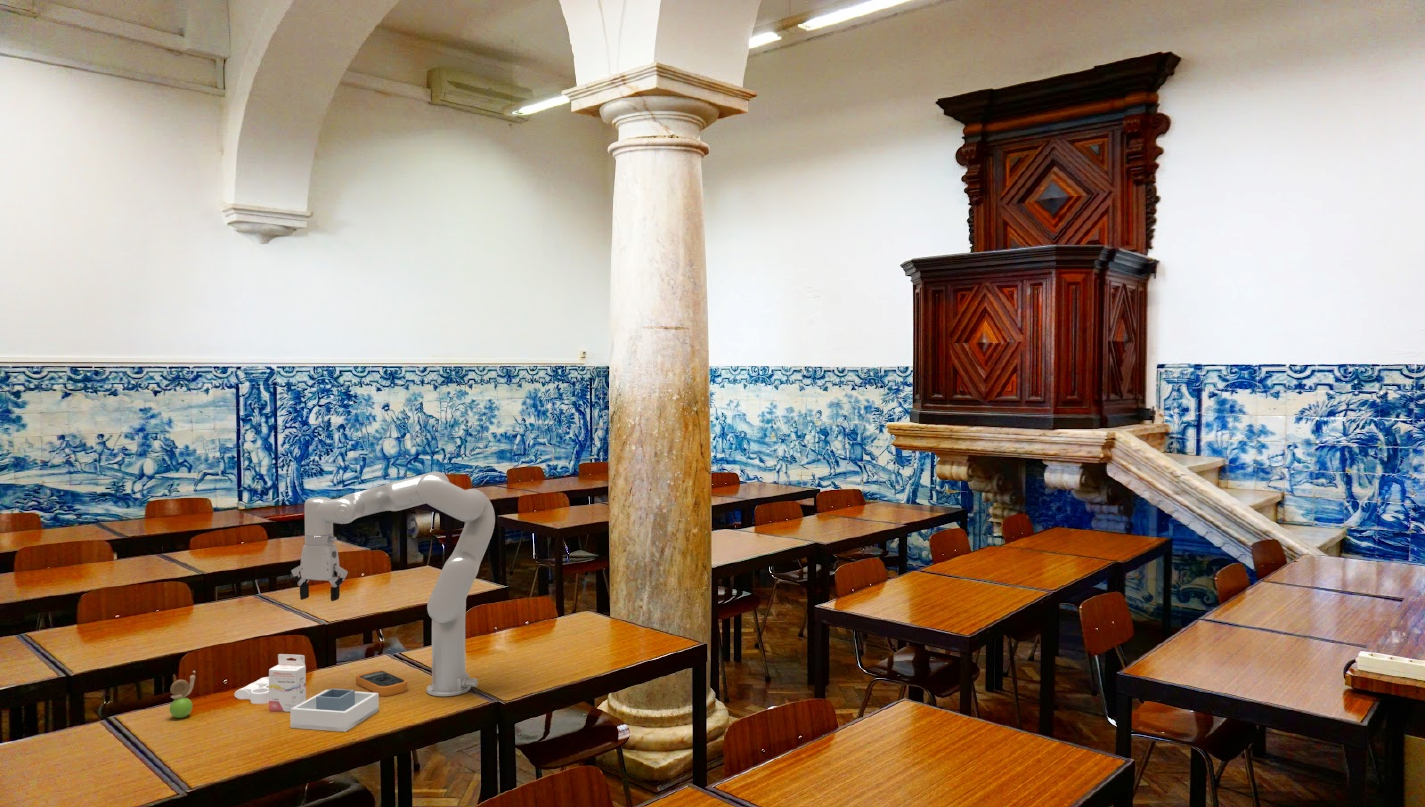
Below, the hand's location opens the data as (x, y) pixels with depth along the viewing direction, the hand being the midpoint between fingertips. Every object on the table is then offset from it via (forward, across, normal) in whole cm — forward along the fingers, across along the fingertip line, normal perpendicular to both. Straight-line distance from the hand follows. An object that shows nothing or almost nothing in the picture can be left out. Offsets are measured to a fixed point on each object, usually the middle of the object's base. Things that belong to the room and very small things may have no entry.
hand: (319, 599), depth 273 cm
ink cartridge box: (+28, +3, +11) cm, 31 cm away
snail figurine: (+28, +27, +22) cm, 45 cm away
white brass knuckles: (+29, +16, 0) cm, 33 cm away
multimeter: (+29, -13, -11) cm, 33 cm away
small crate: (+27, -15, +16) cm, 35 cm away
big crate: (+28, -15, +16) cm, 36 cm away
